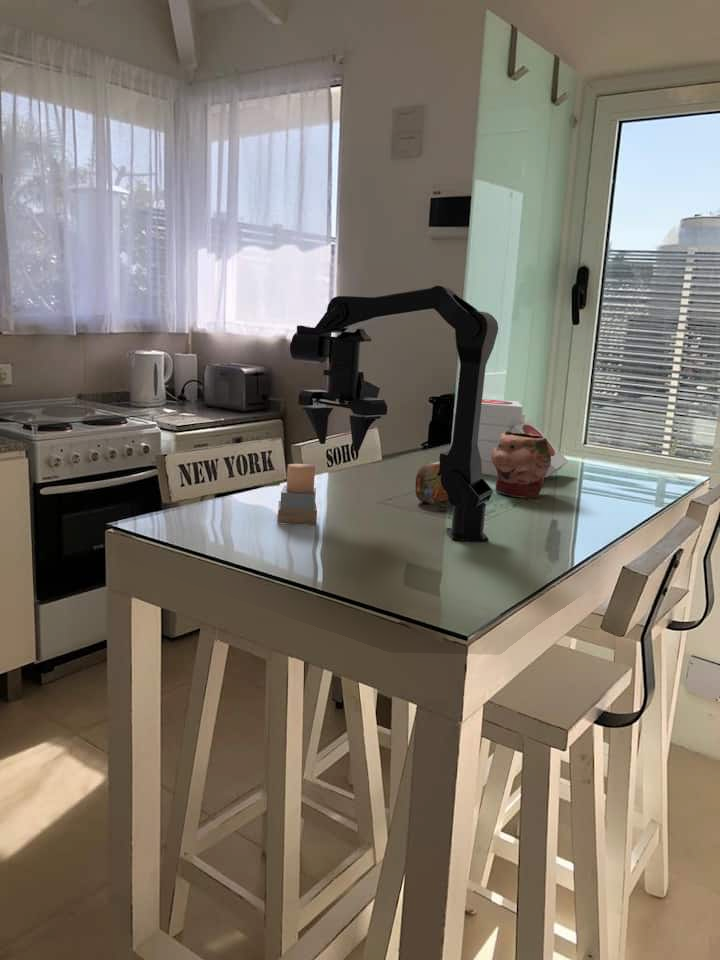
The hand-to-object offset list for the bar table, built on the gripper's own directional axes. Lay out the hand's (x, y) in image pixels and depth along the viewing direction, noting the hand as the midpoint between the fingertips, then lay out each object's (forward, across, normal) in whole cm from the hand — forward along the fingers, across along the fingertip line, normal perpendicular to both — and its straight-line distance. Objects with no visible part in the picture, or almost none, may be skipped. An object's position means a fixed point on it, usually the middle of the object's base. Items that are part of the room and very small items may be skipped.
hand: (339, 447), depth 151 cm
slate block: (+10, 0, +10) cm, 14 cm away
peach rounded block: (+7, 0, +10) cm, 12 cm away
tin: (+13, -3, -27) cm, 30 cm away
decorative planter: (+13, -9, -51) cm, 54 cm away
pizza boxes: (+13, +8, -72) cm, 73 cm away
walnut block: (+13, 0, +10) cm, 17 cm away
